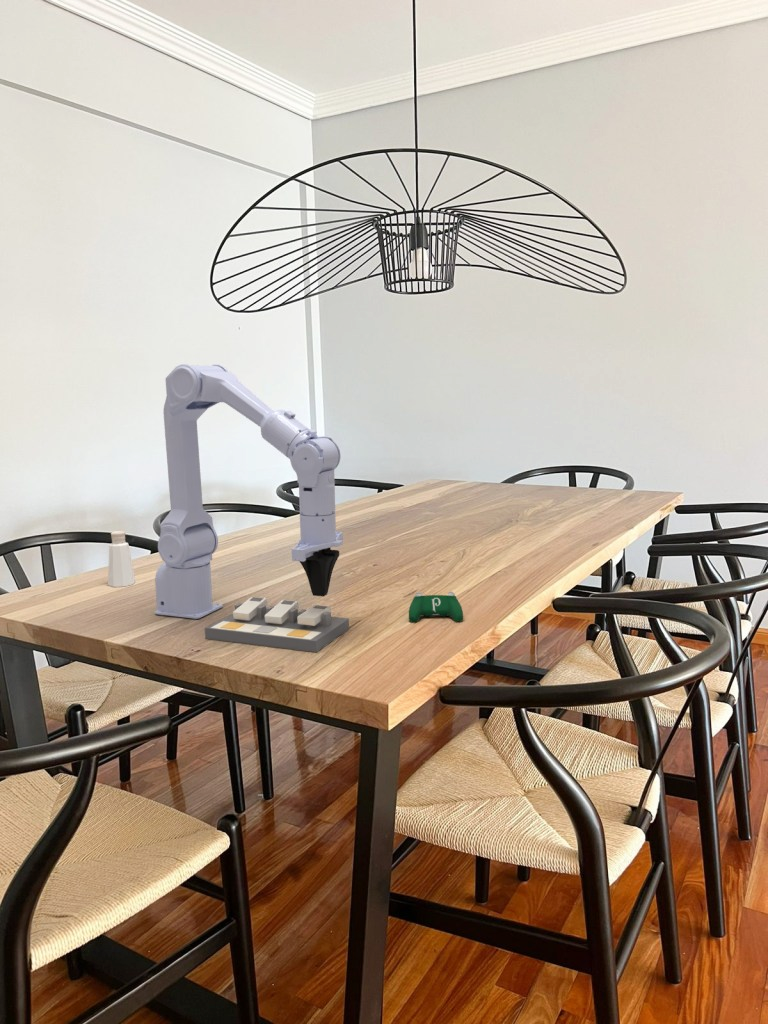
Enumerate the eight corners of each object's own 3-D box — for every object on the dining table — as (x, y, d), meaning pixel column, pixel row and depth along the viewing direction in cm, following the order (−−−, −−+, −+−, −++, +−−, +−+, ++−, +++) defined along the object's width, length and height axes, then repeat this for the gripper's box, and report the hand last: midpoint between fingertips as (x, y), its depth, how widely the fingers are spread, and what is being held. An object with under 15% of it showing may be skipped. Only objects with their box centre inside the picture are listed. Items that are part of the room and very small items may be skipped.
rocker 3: (297, 623, 126) (297, 616, 125) (314, 611, 131) (314, 604, 131) (314, 625, 124) (314, 618, 124) (331, 613, 130) (330, 606, 130)
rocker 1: (233, 618, 130) (232, 611, 130) (252, 603, 135) (251, 596, 135) (249, 620, 129) (248, 613, 129) (267, 604, 134) (266, 597, 134)
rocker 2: (265, 622, 128) (264, 615, 128) (283, 606, 133) (282, 599, 133) (281, 624, 127) (280, 617, 126) (298, 607, 132) (297, 600, 132)
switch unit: (205, 638, 127) (204, 615, 127) (245, 617, 138) (244, 596, 138) (316, 652, 120) (315, 628, 119) (349, 628, 131) (348, 606, 130)
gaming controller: (462, 629, 136) (460, 599, 139) (463, 619, 132) (461, 588, 136) (409, 630, 136) (408, 599, 139) (408, 619, 133) (408, 588, 136)
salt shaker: (102, 586, 161) (98, 533, 159) (119, 579, 166) (115, 528, 164) (124, 588, 159) (120, 534, 158) (141, 581, 164) (137, 529, 163)
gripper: (319, 522, 119) (322, 609, 121) (358, 507, 132) (360, 585, 134) (278, 519, 121) (281, 605, 124) (320, 505, 135) (322, 582, 137)
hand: (319, 595), depth 129 cm, fingers closed
